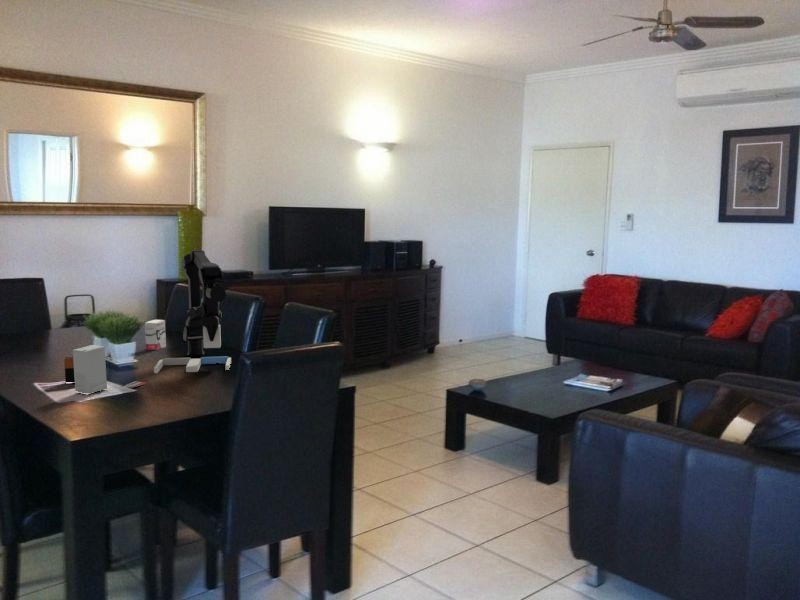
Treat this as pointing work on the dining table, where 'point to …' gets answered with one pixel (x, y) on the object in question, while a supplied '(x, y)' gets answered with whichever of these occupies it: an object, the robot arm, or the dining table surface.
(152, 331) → the ink box
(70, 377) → the battery
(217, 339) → the plug block
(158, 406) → the dining table surface
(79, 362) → the skincare box
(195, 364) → the duct rack
